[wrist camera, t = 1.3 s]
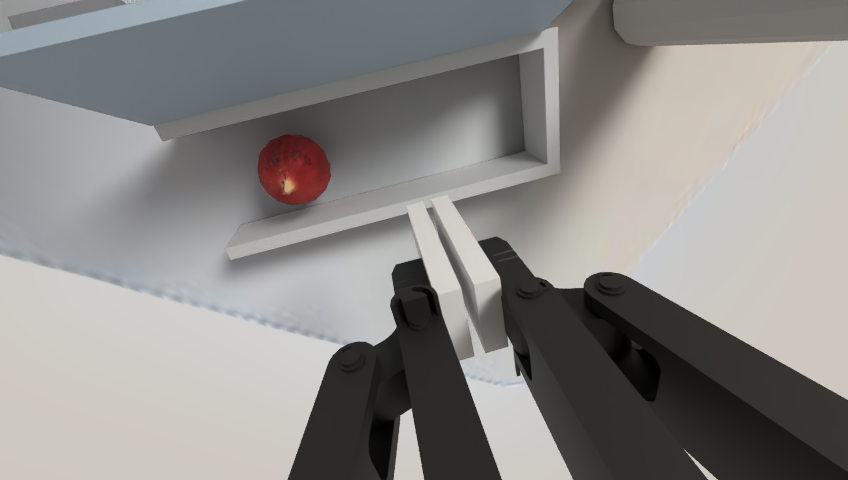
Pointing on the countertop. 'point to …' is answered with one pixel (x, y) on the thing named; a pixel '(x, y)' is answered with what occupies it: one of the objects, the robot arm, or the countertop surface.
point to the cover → (236, 47)
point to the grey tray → (391, 201)
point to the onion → (293, 169)
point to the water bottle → (729, 21)
